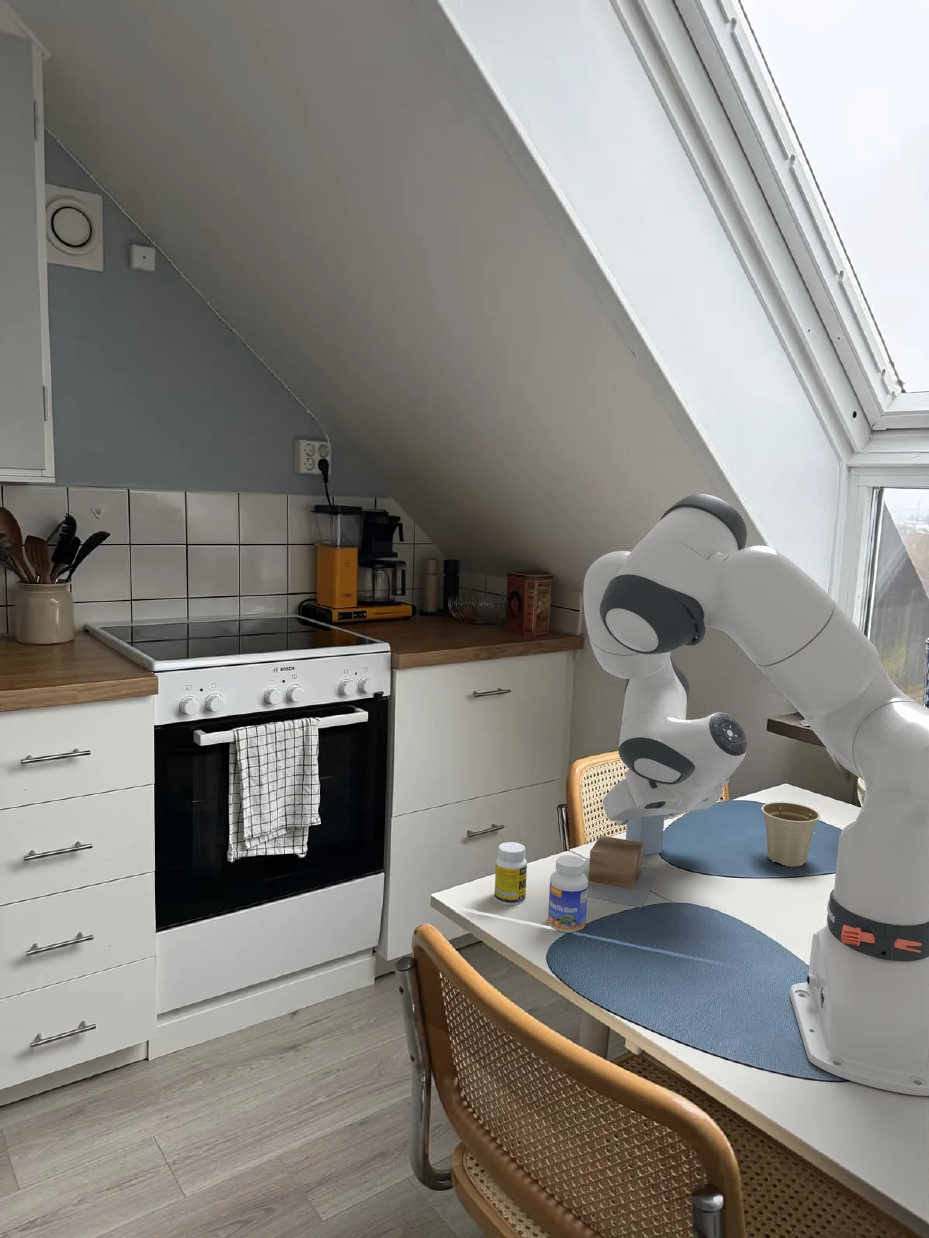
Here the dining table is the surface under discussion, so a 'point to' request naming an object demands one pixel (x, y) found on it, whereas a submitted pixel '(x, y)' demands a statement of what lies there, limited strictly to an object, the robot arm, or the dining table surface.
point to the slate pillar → (647, 833)
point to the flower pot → (789, 831)
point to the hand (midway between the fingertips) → (643, 818)
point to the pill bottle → (568, 895)
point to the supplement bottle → (510, 874)
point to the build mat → (622, 889)
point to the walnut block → (616, 862)
